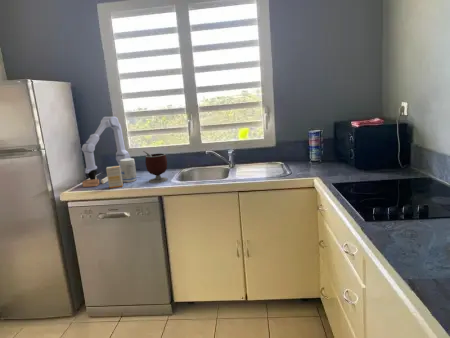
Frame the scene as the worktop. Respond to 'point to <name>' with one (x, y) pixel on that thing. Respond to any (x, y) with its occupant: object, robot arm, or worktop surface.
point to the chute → (102, 180)
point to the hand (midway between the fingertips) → (93, 181)
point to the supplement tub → (128, 170)
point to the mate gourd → (156, 166)
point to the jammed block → (90, 183)
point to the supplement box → (114, 176)
